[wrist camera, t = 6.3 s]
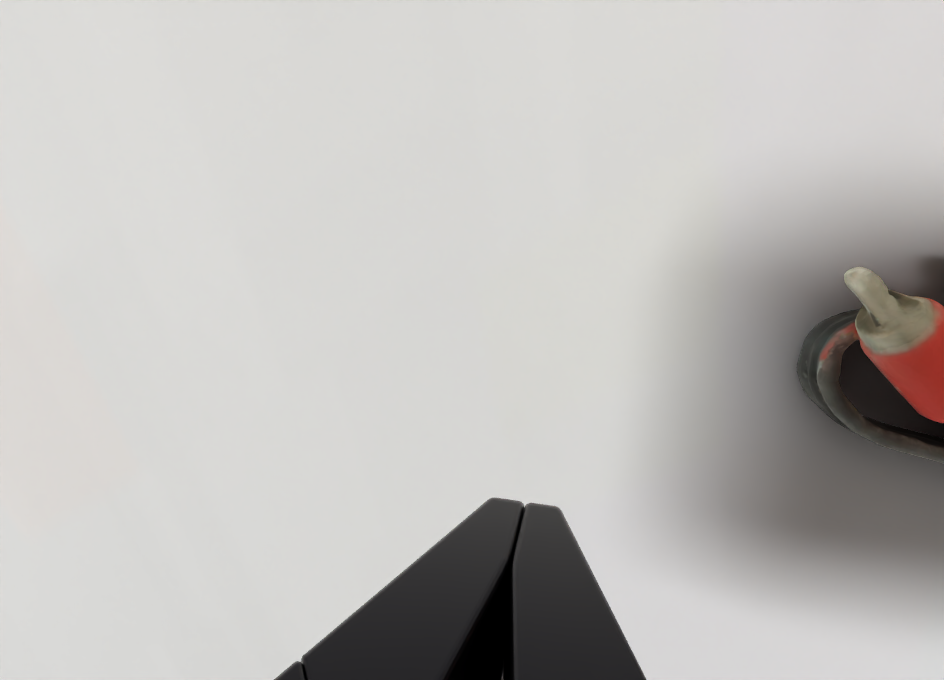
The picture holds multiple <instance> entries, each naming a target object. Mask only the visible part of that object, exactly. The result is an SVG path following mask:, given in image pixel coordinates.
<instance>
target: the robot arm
mask: <svg viewBox="0 0 944 680" xmlns="http://www.w3.org/2000/svg"><path fill="white" fill-rule="evenodd" d="M274 680H646V678H645V676H644V674H643V672H642V670H641V668H640V666H639V664H638V662H637V660H636V658H635V656H634V654H633V652H632V650H631V648H630V646H629V644H628V642H627V640H626V638H625V636H624V634H623V632H622V630H621V628H620V626H619V624H618V622H617V620H616V618H615V616H614V614H613V612H612V610H611V608H610V606H609V604H608V602H607V600H606V598H605V596H604V594H603V592H602V591H601V589H600V587H599V585H598V583H597V581H596V579H595V577H594V575H593V573H592V571H591V569H590V567H589V565H588V563H587V561H586V559H585V557H584V555H583V553H582V551H581V549H580V547H579V545H578V543H577V541H576V539H575V537H574V535H573V533H572V531H571V529H570V527H569V525H568V523H567V521H566V519H565V517H564V515H563V513H562V511H561V510H560V509H559V508H558V507H556V506H550V505H543V504H536V503H529V504H527V505H526V506H525V508H524V505H523V503H522V502H520V501H515V500H508V499H501V498H491V499H489V500H487V501H486V502H485V503H484V504H483V505H482V506H480V507H479V508H478V509H477V510H476V511H474V512H473V513H472V514H471V515H470V516H468V517H467V518H466V519H465V520H464V521H463V522H461V523H460V524H459V525H458V526H457V527H455V528H454V529H453V530H452V531H451V532H449V533H448V534H447V535H446V536H445V537H444V538H442V539H441V540H440V541H439V542H438V543H436V544H435V545H434V546H433V547H432V548H430V549H429V550H428V551H427V552H426V553H425V554H423V555H422V556H421V557H420V558H419V559H417V560H416V561H415V562H414V563H413V564H411V565H410V566H409V567H408V568H407V569H406V570H404V571H403V572H402V573H401V574H400V575H398V576H397V577H396V578H395V579H394V580H392V581H391V582H390V583H389V584H388V585H387V586H385V587H384V588H383V589H382V590H381V591H379V592H378V593H377V594H376V595H375V596H373V597H372V598H371V599H370V600H369V601H368V602H366V603H365V604H364V605H363V606H362V607H360V608H359V609H358V610H357V611H356V612H354V613H353V614H352V615H351V616H350V617H349V618H347V619H346V620H345V621H344V622H343V623H341V624H340V625H339V626H338V627H337V628H335V629H334V630H333V631H332V632H331V633H330V634H328V635H327V636H326V637H325V638H324V639H322V640H321V641H320V642H319V643H318V644H316V645H315V646H314V647H313V648H312V649H310V650H309V651H308V652H307V653H306V654H305V655H303V657H302V659H301V662H299V661H297V662H295V663H293V664H292V665H291V666H290V667H289V668H287V669H286V670H285V671H284V672H283V673H281V674H280V675H279V676H278V677H277V678H276V679H274Z"/></svg>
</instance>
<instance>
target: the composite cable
mask: <svg viewBox="0 0 944 680" xmlns="http://www.w3.org/2000/svg"><path fill="white" fill-rule="evenodd" d="M844 281H845V284H846V285H847V286H848V287H849V289H850V290H851V291H852V292H853V293H854V294H855V295H856V296H857V297H858V299H859V300H860V301H861V302H862V304H863V306H862V308H861V309H859V310H854V311H850V312H844V313H841V314H838V315H836V316H833V317H831V318H828V319H826V320H824V321H822V322H821V323H819V324H818V325H817V326H815V327H814V328H813V329H812V331H811V332H810V333H809V334H808V336H807V337H806V339H805V341H804V344H803V347H802V350H801V353H800V357H799V360H798V364H797V373H798V376H799V380H800V382H801V385H802V388H803V390H804V392H805V393H806V394H807V395H808V397H809V398H810V399H811V400H812V401H813V402H814V403H815V404H816V405H817V406H818V407H819V408H820V409H822V410H823V411H824V412H825V413H826V414H827V415H828V416H829V417H831V418H832V419H833V420H834V421H836V422H837V423H838V424H840V425H842V426H843V427H845V428H847V429H849V430H851V431H852V432H854V433H856V434H858V435H861V436H862V437H864V438H866V439H868V440H870V441H872V442H874V443H876V444H878V445H881V446H883V447H886V448H889V449H893V450H896V451H899V452H903V453H907V454H911V455H914V456H918V457H922V458H926V459H929V460H933V461H936V462H940V463H944V439H943V438H940V437H936V436H932V435H929V434H925V433H920V432H916V431H913V430H909V429H905V428H901V427H897V426H893V425H889V424H886V423H883V422H880V421H877V420H874V419H871V418H868V417H865V416H862V415H861V414H860V413H859V411H858V410H857V409H856V408H855V407H854V406H853V404H852V403H851V402H850V401H849V400H848V398H847V397H846V396H845V395H844V393H843V392H842V389H841V386H840V383H839V381H838V380H839V377H840V374H841V362H842V356H843V353H844V351H845V350H846V349H847V348H848V347H849V346H850V345H851V344H852V343H853V342H855V341H856V340H860V345H861V348H862V350H863V351H864V353H865V354H866V355H867V356H868V358H869V359H870V360H871V361H872V362H873V363H874V365H875V366H876V367H877V368H878V369H879V371H880V372H881V373H882V374H883V375H884V376H885V377H886V378H887V379H888V380H889V381H890V383H891V384H892V385H893V386H894V387H895V389H896V390H897V391H898V392H899V393H900V394H901V395H902V396H903V397H904V398H905V399H906V400H907V401H908V403H909V404H910V405H911V406H912V407H913V408H914V409H915V410H916V411H917V413H918V414H920V415H921V416H924V417H926V418H928V419H930V420H933V421H936V422H940V423H944V306H942V305H941V304H940V303H938V302H937V301H935V300H932V299H929V298H925V297H918V296H908V295H905V294H902V293H899V292H896V291H893V290H888V288H887V286H886V285H885V284H884V282H883V281H882V279H881V278H880V277H879V276H878V275H876V274H875V273H874V272H873V271H871V270H869V269H866V268H864V267H855V268H852V269H850V270H848V271H847V272H846V273H845V274H844Z"/></svg>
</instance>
